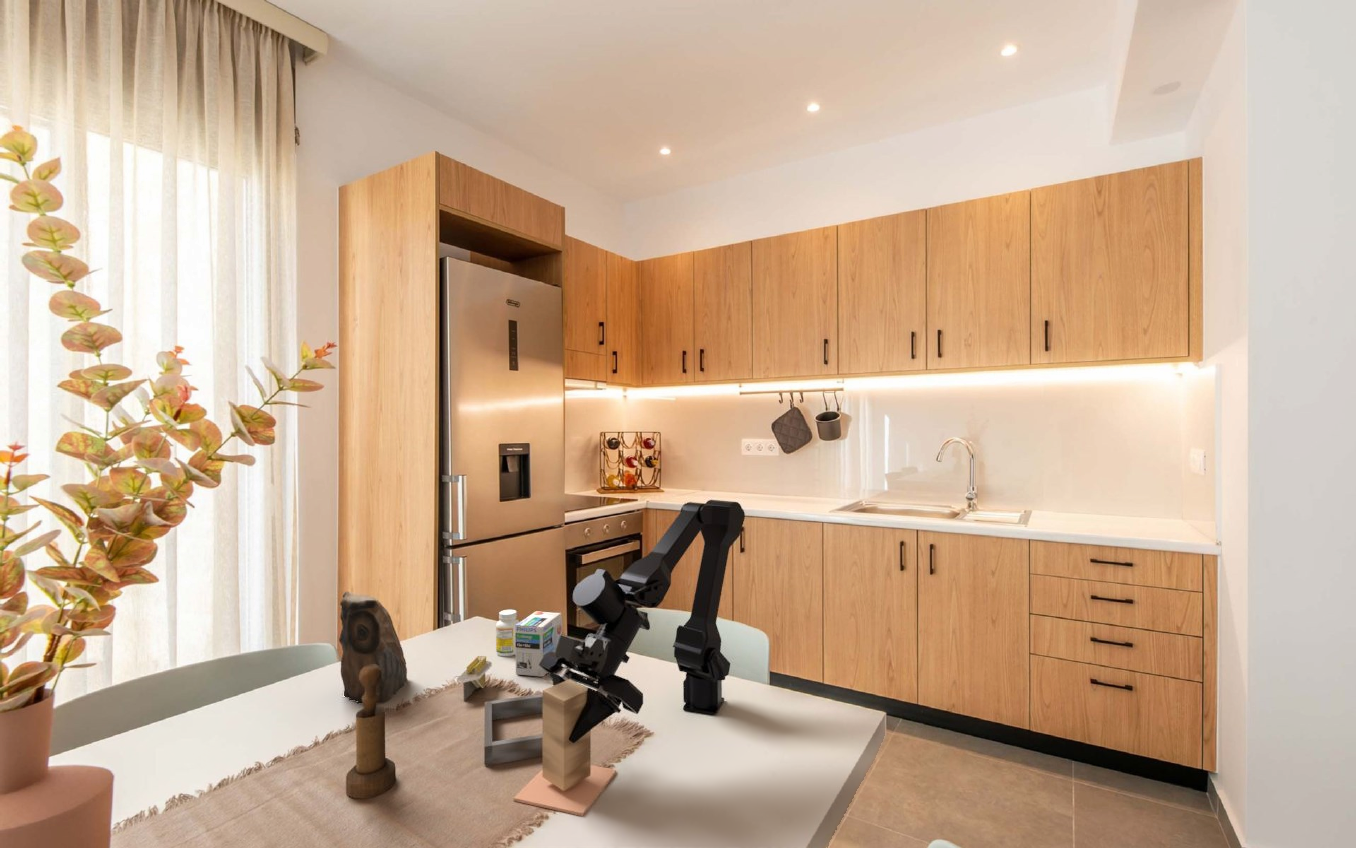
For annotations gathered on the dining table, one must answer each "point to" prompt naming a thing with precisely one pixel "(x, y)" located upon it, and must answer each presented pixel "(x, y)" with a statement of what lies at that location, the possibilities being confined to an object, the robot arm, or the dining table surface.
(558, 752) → the block
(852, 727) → the dining table surface
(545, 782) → the mat
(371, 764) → the mortar and pestle
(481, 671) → the platform
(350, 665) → the owl
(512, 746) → the nook
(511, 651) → the supplement bottle
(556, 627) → the light bulb box
